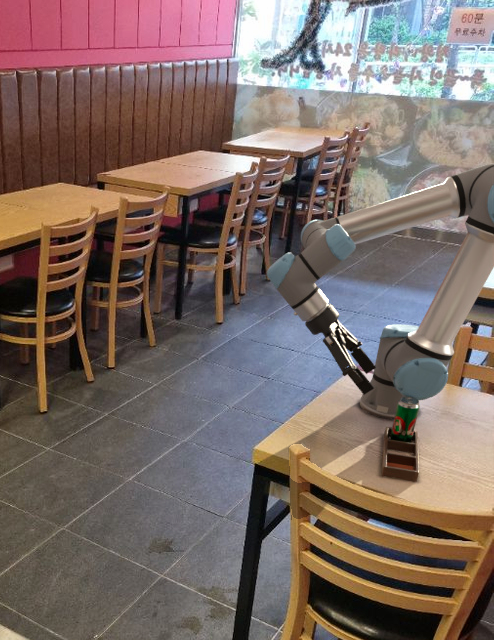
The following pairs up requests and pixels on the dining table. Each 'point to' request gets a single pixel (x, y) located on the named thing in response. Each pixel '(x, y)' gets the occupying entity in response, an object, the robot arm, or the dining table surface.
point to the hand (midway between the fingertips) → (370, 380)
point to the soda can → (405, 419)
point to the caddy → (400, 458)
